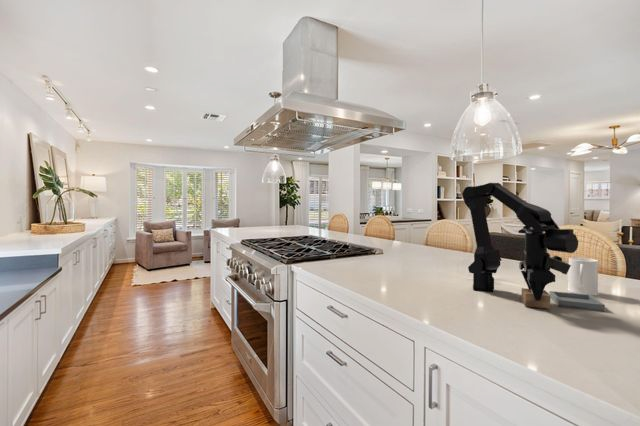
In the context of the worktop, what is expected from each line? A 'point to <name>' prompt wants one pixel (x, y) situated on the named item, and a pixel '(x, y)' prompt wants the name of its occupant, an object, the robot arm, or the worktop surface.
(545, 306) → the brown square socket block
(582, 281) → the mug
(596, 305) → the tray
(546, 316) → the worktop surface
